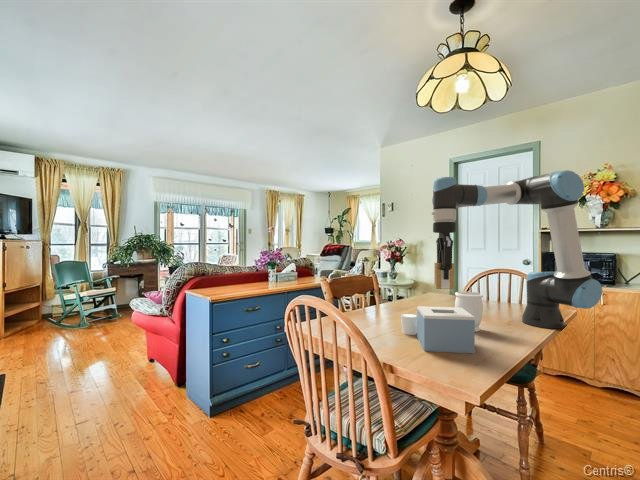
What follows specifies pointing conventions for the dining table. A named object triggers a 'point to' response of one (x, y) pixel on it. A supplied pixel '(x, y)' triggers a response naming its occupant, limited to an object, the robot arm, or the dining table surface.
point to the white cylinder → (409, 324)
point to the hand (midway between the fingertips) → (443, 287)
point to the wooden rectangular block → (438, 276)
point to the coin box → (446, 329)
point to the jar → (471, 305)
